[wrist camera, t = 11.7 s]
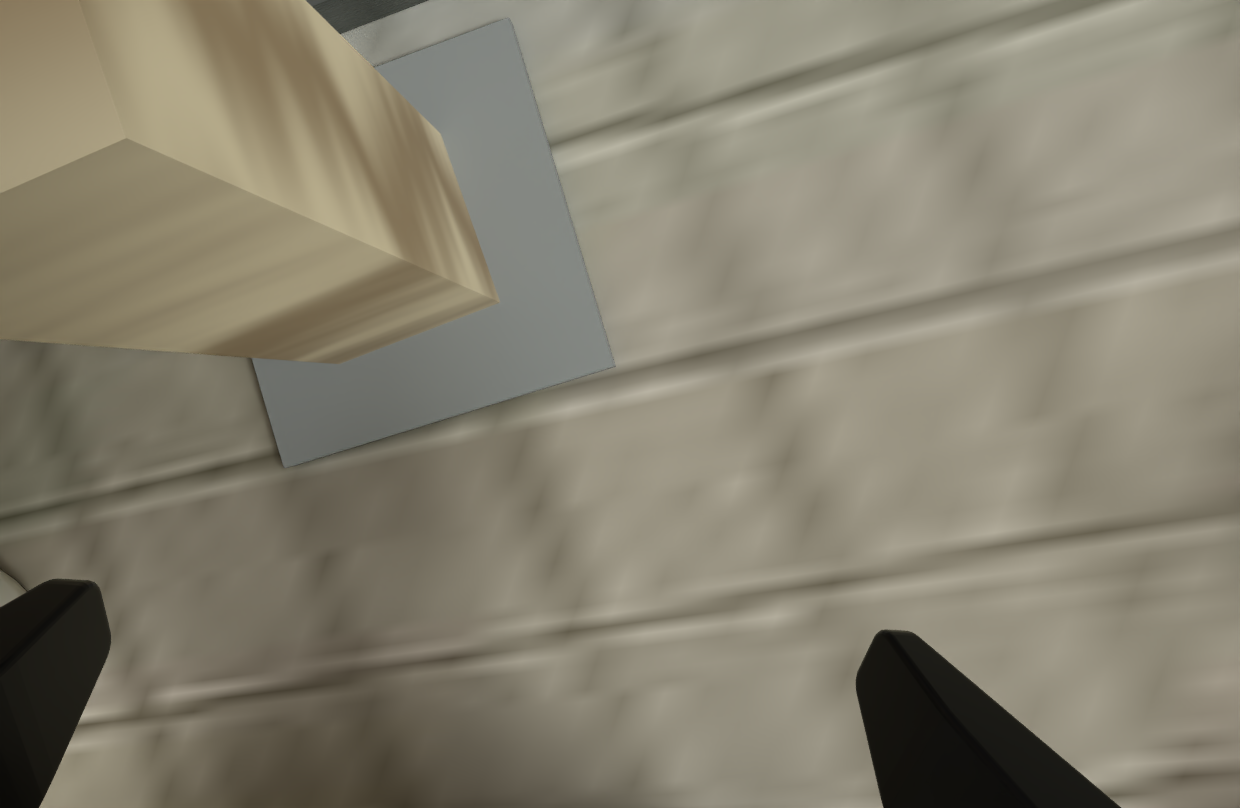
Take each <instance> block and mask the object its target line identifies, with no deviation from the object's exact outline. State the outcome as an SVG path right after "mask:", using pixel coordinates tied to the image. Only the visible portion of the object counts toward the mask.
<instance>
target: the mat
mask: <svg viewBox="0 0 1240 808" xmlns="http://www.w3.org/2000/svg"><path fill="white" fill-rule="evenodd" d="M374 68H375V69H376V70H377V71H378V72H379V73H380V74H381V75H382V76H383V77H384V78H385V79H386V80H387V81H388V82H389V83H390V84H391V85H392V86H393V87H394V88H395V89H396V90H397V91H398V92H399V93H400V94H401V95H402V96H403V97H404V98H405V99H406V100H407V101H408V102H409V103H410V104H411V105H412V106H413V107H414V108H415V109H416V110H417V111H418V112H419V113H420V114H421V115H422V116H423V117H424V118H425V119H426V120H427V121H428V122H429V123H430V124H431V125H432V126H433V127H434V128H435V129H436V130H437V131H438V132H439V133H440V134H441V136H442V139H443V142H444V145H445V148H446V150H447V153H448V156H449V159H450V162H451V165H452V167H453V170H454V173H455V176H456V179H457V182H458V184H459V187H460V190H461V193H462V196H463V198H464V201H465V204H466V207H467V210H468V213H469V215H470V218H471V221H472V224H473V227H474V230H475V232H476V235H477V238H478V241H479V244H480V247H481V249H482V252H483V255H484V258H485V261H486V264H487V266H488V269H489V272H490V275H491V278H492V281H493V283H494V286H495V289H496V292H497V295H498V298H499V300H500V303H497V304H495V305H492V306H490V307H487V308H484V309H482V310H479V311H477V312H474V313H471V314H469V315H466V316H464V317H461V318H458V319H456V320H453V321H451V322H448V323H445V324H443V325H440V326H437V327H435V328H432V329H430V330H427V331H424V332H422V333H419V334H417V335H414V336H411V337H409V338H406V339H404V340H401V341H398V342H396V343H393V344H390V345H388V346H385V347H383V348H380V349H377V350H375V351H372V352H370V353H367V354H364V355H362V356H359V357H357V358H354V359H351V360H349V361H346V362H343V363H341V364H330V363H316V362H302V361H289V360H275V359H261V358H252V361H253V365H254V368H255V371H256V375H257V378H258V382H259V385H260V388H261V392H262V395H263V399H264V402H265V405H266V409H267V412H268V416H269V419H270V423H271V426H272V429H273V433H274V436H275V440H276V443H277V446H278V450H279V453H280V457H281V460H282V463H283V467H284V468H288V467H292V466H296V465H299V464H302V463H305V462H309V461H312V460H315V459H318V458H322V457H325V456H328V455H331V454H335V453H338V452H341V451H344V450H347V449H351V448H354V447H357V446H360V445H364V444H367V443H370V442H373V441H377V440H380V439H383V438H386V437H389V436H393V435H396V434H399V433H402V432H406V431H409V430H412V429H415V428H419V427H422V426H425V425H428V424H432V423H435V422H438V421H441V420H444V419H448V418H451V417H454V416H457V415H461V414H464V413H467V412H470V411H474V410H477V409H480V408H483V407H486V406H490V405H493V404H496V403H499V402H503V401H506V400H509V399H512V398H516V397H519V396H522V395H525V394H528V393H532V392H535V391H538V390H541V389H545V388H548V387H551V386H554V385H558V384H561V383H564V382H567V381H571V380H574V379H577V378H580V377H583V376H587V375H590V374H593V373H596V372H600V371H603V370H606V369H609V368H613V367H616V366H615V363H614V359H613V356H612V353H611V349H610V346H609V343H608V339H607V336H606V333H605V329H604V326H603V323H602V319H601V316H600V313H599V310H598V306H597V303H596V300H595V296H594V293H593V290H592V286H591V283H590V280H589V276H588V273H587V270H586V266H585V263H584V260H583V256H582V253H581V250H580V246H579V243H578V240H577V236H576V233H575V230H574V227H573V223H572V220H571V217H570V213H569V210H568V207H567V203H566V200H565V197H564V193H563V190H562V187H561V183H560V180H559V177H558V173H557V170H556V167H555V163H554V160H553V157H552V153H551V150H550V147H549V144H548V140H547V137H546V134H545V130H544V127H543V124H542V120H541V117H540V114H539V110H538V107H537V104H536V100H535V97H534V94H533V90H532V87H531V84H530V80H529V77H528V74H527V70H526V67H525V64H524V61H523V57H522V54H521V51H520V47H519V44H518V41H517V37H516V34H515V31H514V27H513V24H512V22H511V20H510V18H509V17H508V18H505V19H503V20H500V21H497V22H495V23H492V24H489V25H487V26H484V27H481V28H479V29H476V30H473V31H470V32H468V33H465V34H462V35H460V36H457V37H454V38H452V39H449V40H446V41H444V42H441V43H438V44H436V45H433V46H430V47H428V48H425V49H422V50H420V51H417V52H414V53H412V54H409V55H406V56H404V57H401V58H398V59H396V60H393V61H390V62H388V63H385V64H382V65H379V66H377V67H374Z"/></svg>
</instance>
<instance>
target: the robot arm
mask: <svg viewBox="0 0 1240 808" xmlns="http://www.w3.org/2000/svg"><path fill="white" fill-rule="evenodd" d="M110 645H111V632H110V628H109V623H108V619H107V615H106V611H105V607H104V602H103V598H102V594H101V591H100V588H99V586H98V585H97V584H96V583H95V582H92V581H88V580H72V579H52V580H49V581H46V582H44V583H42V584H40V585H38V586H36V587H35V588H33V589H31V590H29V591H28V592H26V593H24V594H22V595H21V596H19V597H17V598H15V599H14V600H12V601H10V602H8V603H6V604H5V605H3V606H1V607H0V808H39V806H40V804H41V803H42V801H43V799H44V797H45V795H46V793H47V791H48V788H49V786H50V784H51V782H52V780H53V778H54V776H55V774H56V771H57V769H58V767H59V765H60V762H61V760H62V758H63V756H64V753H65V751H66V749H67V747H68V744H69V742H70V740H71V738H72V735H73V733H74V731H75V729H76V726H77V724H78V722H79V720H80V717H81V715H82V713H83V711H84V708H85V706H86V704H87V702H88V699H89V697H90V695H91V693H92V690H93V688H94V686H95V684H96V681H97V679H98V677H99V675H100V672H101V670H102V668H103V666H104V663H105V661H106V659H107V656H108V653H109V650H110ZM856 692H857V697H858V701H859V706H860V710H861V714H862V719H863V723H864V727H865V732H866V736H867V740H868V745H869V749H870V753H871V758H872V762H873V766H874V771H875V775H876V779H877V784H878V788H879V792H880V796H881V800H882V804H883V808H1121V807H1120V806H1119V805H1117V804H1116V803H1115V802H1114V801H1113V800H1111V799H1110V798H1109V797H1108V796H1107V795H1106V794H1104V793H1103V792H1102V791H1101V790H1100V789H1098V788H1097V787H1096V786H1095V785H1094V784H1093V783H1091V782H1090V781H1089V780H1088V779H1087V778H1085V777H1084V776H1083V775H1082V774H1081V773H1080V772H1078V771H1077V770H1076V769H1075V768H1074V767H1072V766H1071V765H1070V764H1069V763H1068V762H1067V761H1065V760H1064V759H1063V758H1062V757H1061V756H1059V755H1058V754H1057V753H1056V752H1055V751H1053V750H1052V749H1051V748H1050V747H1049V746H1048V745H1046V744H1045V743H1044V742H1043V741H1042V740H1040V739H1039V738H1038V737H1037V736H1036V735H1035V734H1033V733H1032V732H1031V731H1030V730H1029V729H1027V728H1026V727H1025V726H1024V725H1023V724H1022V723H1020V722H1019V721H1018V720H1017V719H1016V718H1014V717H1013V716H1012V715H1011V714H1010V713H1009V712H1007V711H1006V710H1005V709H1004V708H1003V707H1001V706H1000V705H999V704H998V703H997V702H996V701H994V700H993V699H992V698H991V697H990V696H988V695H987V694H986V693H985V692H984V691H982V690H981V689H980V688H979V687H978V686H977V685H975V684H974V683H973V682H972V681H971V680H969V679H968V678H967V677H966V676H965V675H964V674H962V673H961V672H960V671H959V670H958V669H956V668H955V667H954V666H953V665H952V664H951V663H949V662H948V661H947V660H946V659H945V658H943V657H942V656H941V655H940V654H939V653H938V652H936V651H935V650H934V649H933V648H932V647H930V646H929V645H928V644H927V643H926V642H924V641H923V640H922V639H921V638H920V637H919V636H917V635H916V634H914V633H912V632H909V631H901V630H881V631H880V632H878V633H877V634H876V635H875V637H874V639H873V641H872V643H871V645H870V647H869V649H868V651H867V653H866V655H865V657H864V659H863V661H862V663H861V665H860V668H859V670H858V672H857V677H856Z"/></svg>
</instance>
